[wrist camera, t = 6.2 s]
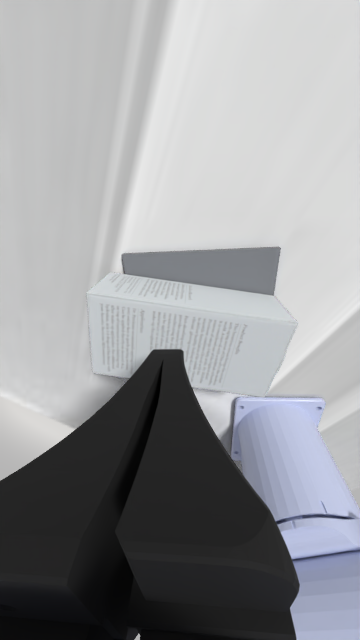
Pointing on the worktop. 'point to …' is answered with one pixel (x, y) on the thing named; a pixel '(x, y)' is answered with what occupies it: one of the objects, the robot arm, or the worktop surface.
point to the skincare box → (189, 331)
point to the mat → (210, 267)
